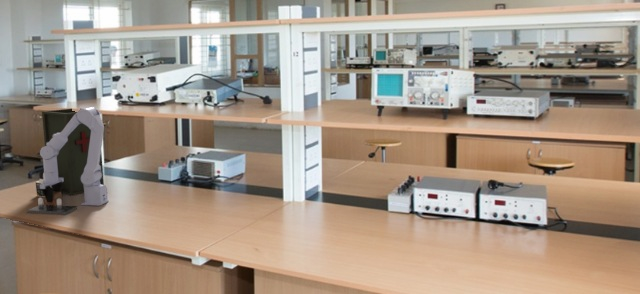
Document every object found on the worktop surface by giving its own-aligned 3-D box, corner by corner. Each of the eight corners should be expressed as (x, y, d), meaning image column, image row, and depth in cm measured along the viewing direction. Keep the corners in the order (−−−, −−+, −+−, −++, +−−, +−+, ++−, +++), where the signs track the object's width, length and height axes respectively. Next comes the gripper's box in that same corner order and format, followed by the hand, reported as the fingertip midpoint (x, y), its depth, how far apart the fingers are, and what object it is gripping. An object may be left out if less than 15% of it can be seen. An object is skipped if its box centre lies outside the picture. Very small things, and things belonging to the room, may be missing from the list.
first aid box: (71, 195, 273) (65, 113, 266) (48, 190, 282) (41, 111, 276) (104, 187, 288) (98, 110, 281) (81, 183, 298) (75, 108, 291)
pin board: (77, 208, 250) (76, 196, 249) (65, 214, 242) (64, 201, 241) (40, 207, 253) (39, 194, 252) (27, 212, 245) (26, 199, 244)
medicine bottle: (36, 196, 272) (34, 171, 270) (49, 192, 279) (47, 169, 277) (46, 197, 269) (44, 173, 267) (59, 194, 275) (57, 170, 273)
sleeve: (62, 202, 261) (61, 191, 261) (55, 205, 257) (54, 194, 256) (52, 201, 262) (51, 191, 261) (45, 204, 257) (44, 194, 256)
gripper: (52, 168, 264) (55, 196, 267) (32, 174, 250) (35, 204, 253) (66, 168, 263) (69, 196, 266) (47, 175, 249) (49, 205, 252)
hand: (53, 200), depth 259 cm, fingers closed on sleeve, 5 cm apart
